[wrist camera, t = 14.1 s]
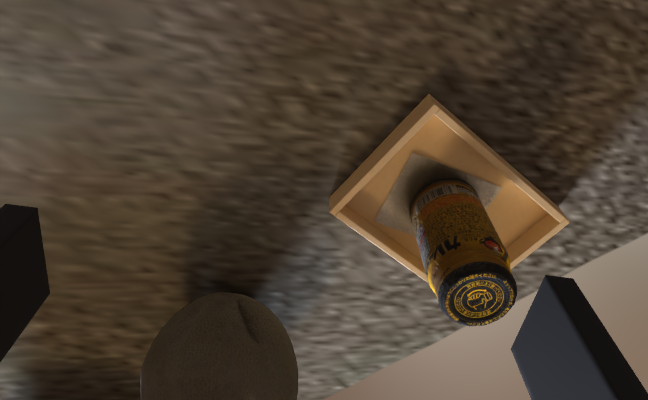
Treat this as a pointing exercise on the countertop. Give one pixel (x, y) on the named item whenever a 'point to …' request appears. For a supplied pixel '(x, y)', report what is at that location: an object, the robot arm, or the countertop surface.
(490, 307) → the condiment
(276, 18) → the countertop surface
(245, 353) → the grey round rock
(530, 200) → the tray
